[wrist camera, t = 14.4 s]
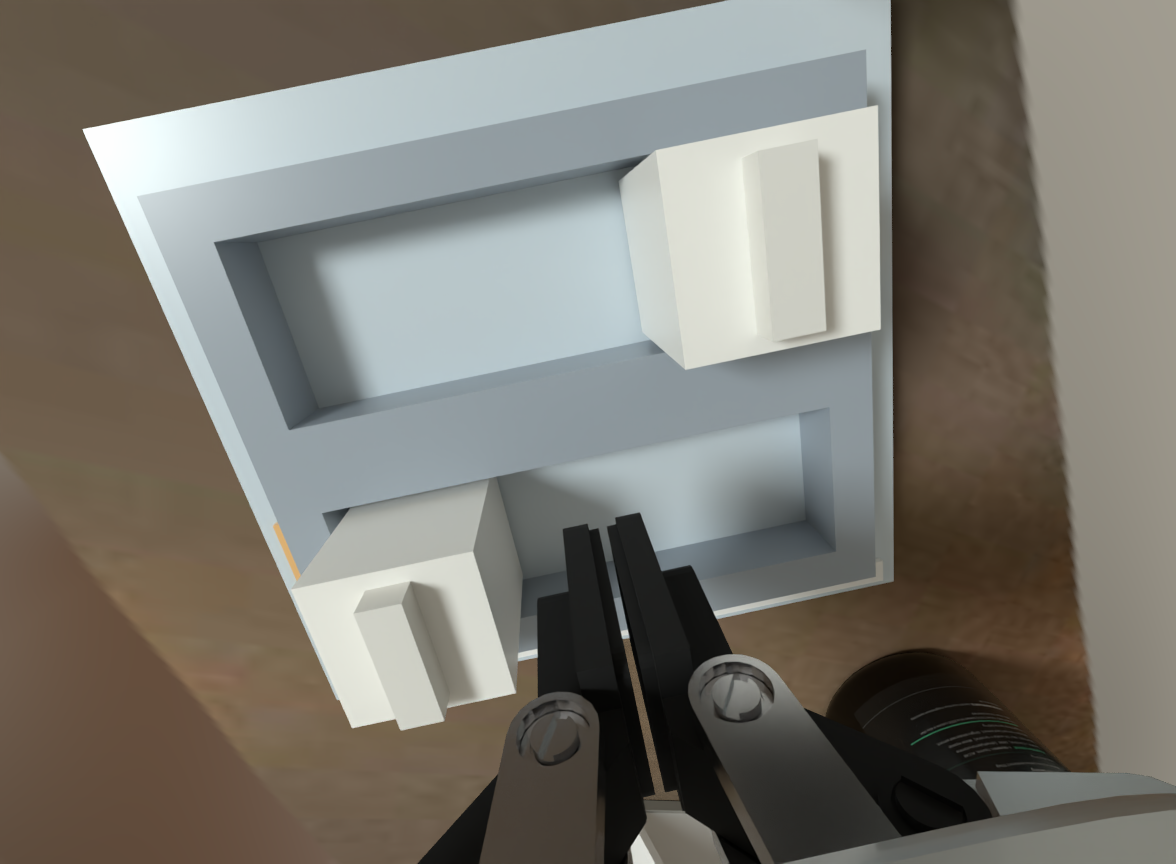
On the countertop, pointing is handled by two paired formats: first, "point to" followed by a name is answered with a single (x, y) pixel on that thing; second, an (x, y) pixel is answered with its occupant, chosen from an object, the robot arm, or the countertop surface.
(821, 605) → the countertop surface
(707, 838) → the skyscraper
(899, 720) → the supplement bottle
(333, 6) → the countertop surface
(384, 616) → the tab
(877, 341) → the switch bank
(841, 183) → the tab
